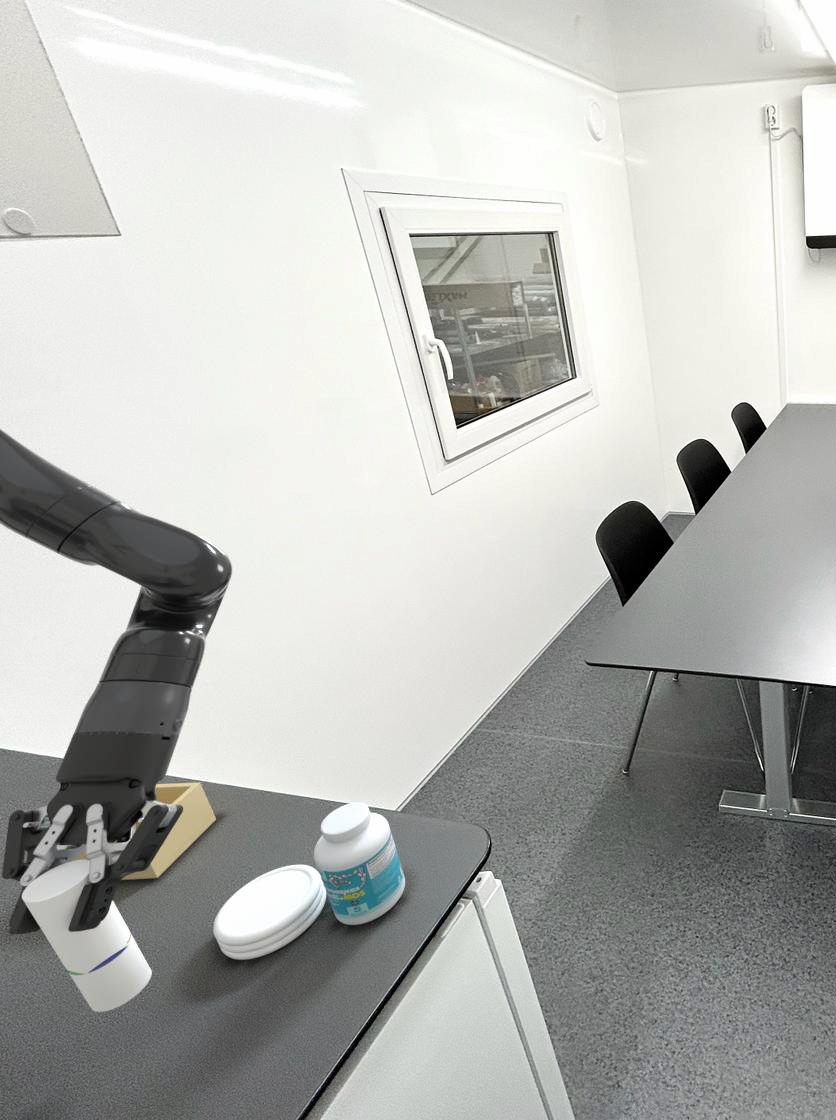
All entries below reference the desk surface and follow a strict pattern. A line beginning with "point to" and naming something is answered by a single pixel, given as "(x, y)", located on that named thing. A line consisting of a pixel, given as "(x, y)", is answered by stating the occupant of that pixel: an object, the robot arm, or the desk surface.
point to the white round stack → (269, 912)
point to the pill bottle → (358, 864)
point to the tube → (87, 939)
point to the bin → (176, 826)
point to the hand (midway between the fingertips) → (54, 930)
